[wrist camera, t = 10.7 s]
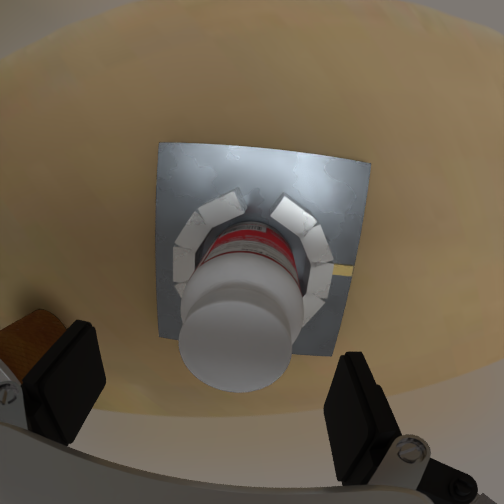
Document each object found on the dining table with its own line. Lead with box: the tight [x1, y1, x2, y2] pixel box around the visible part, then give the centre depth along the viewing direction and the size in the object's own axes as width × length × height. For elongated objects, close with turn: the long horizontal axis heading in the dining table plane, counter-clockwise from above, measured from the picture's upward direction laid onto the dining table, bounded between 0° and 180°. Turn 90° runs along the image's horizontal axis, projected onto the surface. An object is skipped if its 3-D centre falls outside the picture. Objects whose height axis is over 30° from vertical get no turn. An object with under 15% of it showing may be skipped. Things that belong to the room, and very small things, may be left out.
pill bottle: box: [179, 222, 304, 392], centre depth 17 cm, size 6×6×11 cm
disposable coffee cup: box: [0, 309, 66, 386], centre depth 22 cm, size 10×10×12 cm
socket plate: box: [155, 143, 371, 356], centre depth 22 cm, size 15×16×4 cm
